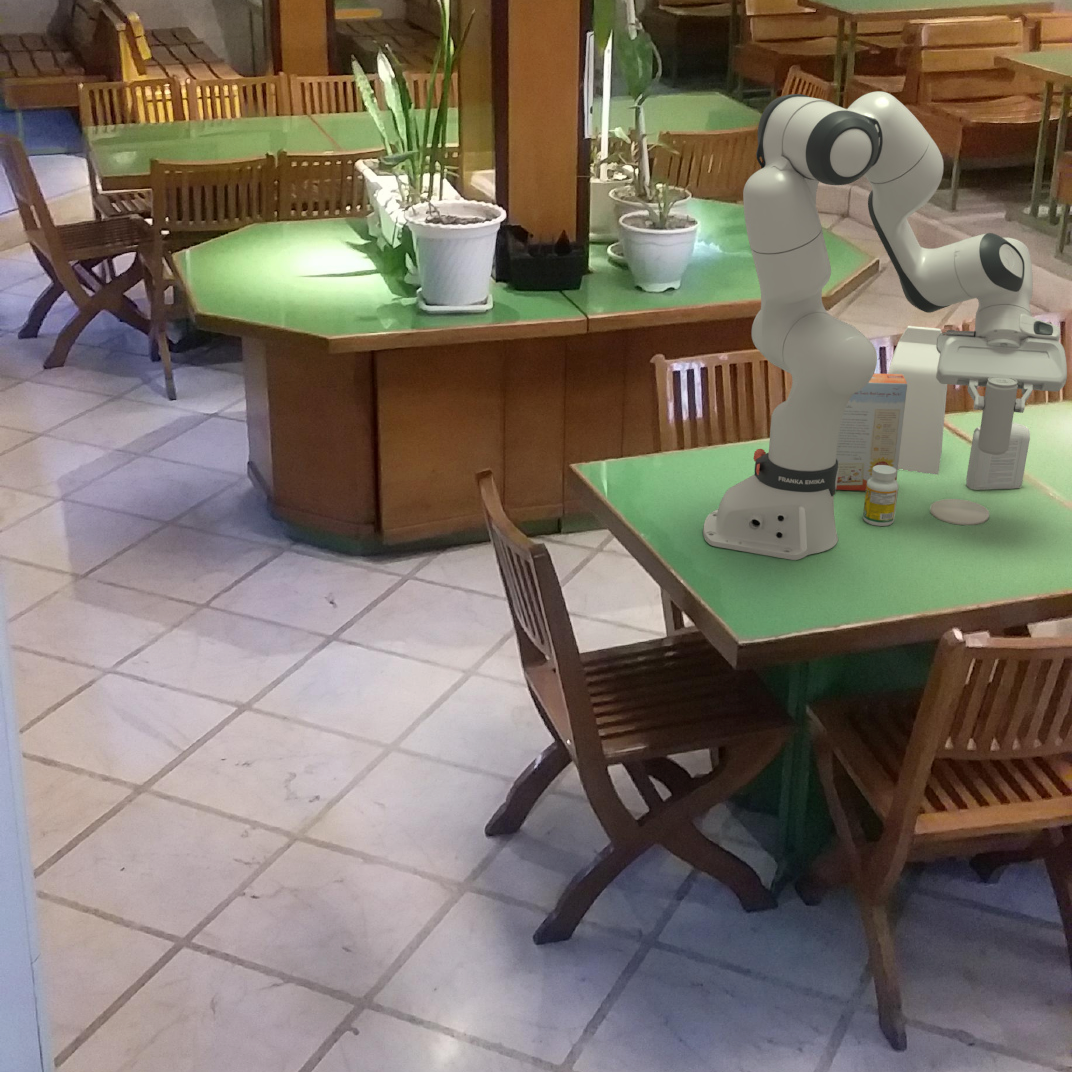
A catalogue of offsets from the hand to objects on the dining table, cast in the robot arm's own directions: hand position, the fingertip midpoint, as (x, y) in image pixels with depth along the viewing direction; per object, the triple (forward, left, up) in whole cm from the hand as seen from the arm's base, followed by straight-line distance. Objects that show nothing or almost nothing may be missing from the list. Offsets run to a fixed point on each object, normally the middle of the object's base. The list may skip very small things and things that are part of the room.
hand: (998, 409), depth 235 cm
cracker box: (-20, +20, -24) cm, 37 cm away
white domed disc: (-2, +11, -24) cm, 26 cm away
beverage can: (0, +1, -7) cm, 7 cm away
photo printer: (+5, +25, -24) cm, 35 cm away
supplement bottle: (-16, +5, -24) cm, 29 cm away
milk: (-10, +35, -24) cm, 44 cm away
